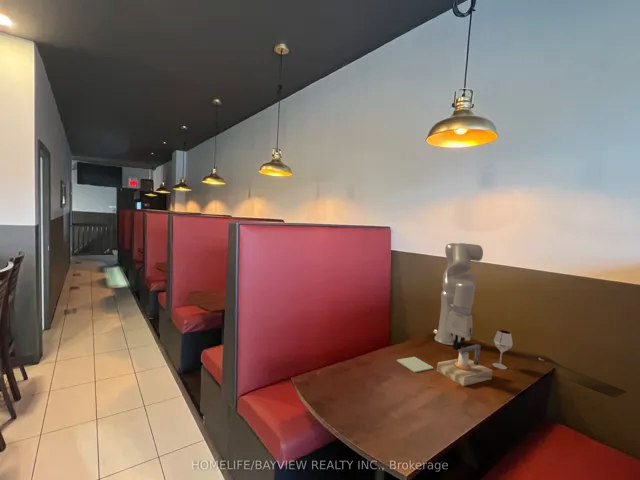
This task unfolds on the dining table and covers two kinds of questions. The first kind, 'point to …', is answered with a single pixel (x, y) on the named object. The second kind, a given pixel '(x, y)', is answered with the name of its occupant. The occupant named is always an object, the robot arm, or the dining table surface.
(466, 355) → the plug
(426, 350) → the dining table surface
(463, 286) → the robot arm
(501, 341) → the wineglass
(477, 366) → the socket block
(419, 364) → the mat
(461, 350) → the grey bar
